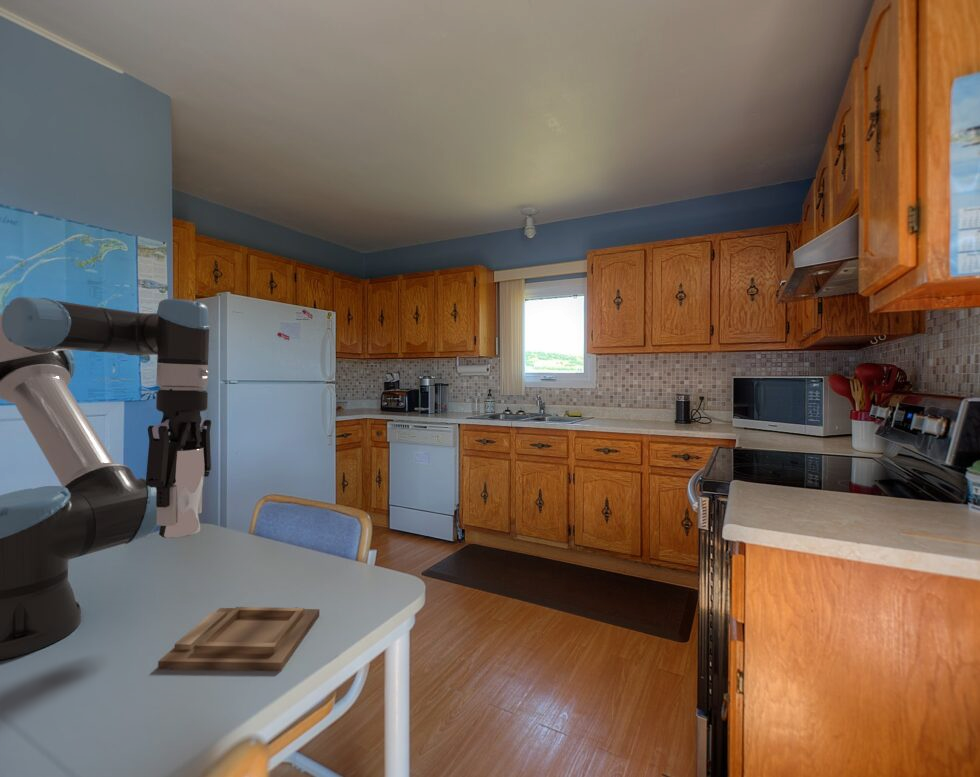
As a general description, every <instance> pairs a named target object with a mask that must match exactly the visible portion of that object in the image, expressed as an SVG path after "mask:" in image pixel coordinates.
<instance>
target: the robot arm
mask: <svg viewBox="0 0 980 777" xmlns="http://www.w3.org/2000/svg"><path fill="white" fill-rule="evenodd" d="M210 329H211V326H210V314H209V308H208V306H207V305H206V304H205V303H202V302H198V301H194V300H188V299H187V300H186V299H179V298H177V299H176V298H165V299H162V300H160V301H159V303H158V306H157V310H156V313H154V312H153V313H144V312H142V313H141V312H136V311H127V310H121V309H114V308H108V307H107V308H106V307H99V306H91V305H86V304H79V303H74V302H67V301H60V300H54V299H51V298H46V297H38V298H36V297H27V296H19V297H15V298H13V299H11V300H10V301H9V304H8V305H6V306H5V307H4V309H3V311H2V313H0V399H1V400H2V401H5V402H6V403H11V404H14V405H15V407H16V409H17V410H18V413H19V414H20V416H21V417H22V419H23V421H24V423H25V424H26V426H27V428H28V430H29V431H30V433H31V434H32V436H33V438H34V440H35V442H36V443H37V445H38V448H40V450H41V452H42V453H43V455H44V457H45V459H46V460H47V462H48V464H49V466H50V467H51V469H52V471H53V472H54V474H55V476H56V477H57V479H58V481H59V483H60V485H46V486H45V485H44V486H39V487H35V488H30V487H29V488H25V489H21V490H15V491H11V492H8V493H4V494H0V661H3V660H7V659H11V658H15V657H19V656H23V655H25V654H29V653H31V652H34V651H35V652H36V651H37V650H40V649H42V648H45V647H47V646H49V645H52V644H53V643H56V642H58V641H60V640H62V639H64V638H66V637H68V636H69V635H70V634H71V633H73V632H74V631H75V630H76V629H77V628H79V626H80V625H81V622H82V608H81V605H80V603H79V602H78V601H76V597H75V594H74V591H73V588H72V586H71V584H70V582H69V561H70V560H72V559H76V558H79V557H83V556H86V555H89V554H93V553H96V552H99V551H103V550H107V549H110V548H114V547H117V546H121V545H124V544H125V545H127V544H130V543H132V542H133V541H135V540H138V539H141V538H145V537H146V536H148V535H150V534H151V533H153V532H154V531H155V529H156V528H157V527H158V526H159V527H160V526H174V525H176V487H177V486H172V485H173V482H174V477H175V473H176V462H177V451H181V449H182V448H183V451H184V450H195V449H198V446H201V447H204V449H203V450H204V467H205V471H204V478H207V477H209V476H210V471H211V470H212V462H211V461H212V458H211V428H212V427H211V426H212V420H211V419H202V415H201V412H205V411H207V409H208V394H209V393H208V391H207V390H204V388H207V387H208V383H209V382H208V376H209V374H210V372H209V367H208V365H209V352H210V351H209V348H210V345H209V344H210ZM73 351H80V352H81V351H82V352H98V353H108V354H109V353H110V354H111V353H112V354H122V355H123V354H124V355H128V356H145V355H146V356H150V355H151V356H152V355H153V356H154V355H155V356H156V357H157V359H156V362H157V364H156V382H155V383H156V386H157V387H160V389H158V390H157V391H156V397H155V398H156V399H155V400H156V401H155V402H156V406H155V408H156V410H157V411H158V412H162V418H161V420H160V423H159V424H157V425H149V426H148V428H147V434H148V440H149V441H148V449H147V450H148V453H147V461H146V462H147V463H146V476H145V477H141V478H139V479H137V477H136V476H135V475H134V473H133V471H132V470H131V469H130V467H129V466H127V465H125V464H121V463H120V464H119V463H115V461H114V459H113V456H111V454H110V452H109V451H108V450H107V448H106V446H105V445H104V443H103V442H102V440H101V438H100V437H99V435H98V433H97V432H96V430H95V429H94V427H93V425H92V424H91V422H90V421H89V418H88V417H87V416H86V414H85V413H84V411H83V409H82V408H81V406H80V404H79V403H78V401H77V399H76V398H75V397H74V395H73V393H72V392H71V390H70V388H69V387H68V386H69V385H70V383H71V381H72V378H73V377H74V375H75V371H76V363H75V362H74V359H75V356H74V354H73V353H74V352H73ZM202 511H203V490H202V491H201V496H200V501H199V506H198V515H199V514H201V513H202Z"/></svg>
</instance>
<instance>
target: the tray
mask: <svg viewBox="0 0 980 777" xmlns="http://www.w3.org/2000/svg"><path fill="white" fill-rule="evenodd" d="M319 618H320V608H314V609H312V608H305V607H270V606H269V607H263V606H262V607H261V606H259V607H258V606H256V607H255V606H253V607H252V606H247V607H246V606H236V607H220V608H218V609H217V610H216V611H212V612H211V613H209V614H208V615H207V616H206V617H204V618H203V619H202V620H201V621H200V622H199V623H198V624H196V626H194V627H193V628H192V629H190V630H189V632H187V633H186V634H184V636H182V637H181V638H179V640H178V641H177V642H176V643H174V647H172V649H170V650H169V651H168V652H167V653H166V654H164V656H163V657H161V658H160V659H159V660H158V661H157V670H177V671H178V670H183V671H186V670H187V671H188V670H190V671H195V670H198V671H264V672H265V671H267V672H268V671H271V672H272V671H274V672H276V671H277V672H278V671H279V672H282V670H283V669H284V667H285V666H286V665H287V663H288V661H289V660H291V658H292V656H293V654H294V653H295V651H296V650H297V649H298V647H299V646H300V645H301V643H302V641H303V640H304V638H305V637H306V636H307V634H308V633H309V632H310V630H311V629H312V628H313V626H314V624H316V622H317V620H318V619H319Z"/></svg>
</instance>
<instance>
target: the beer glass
mask: <svg viewBox="0 0 980 777" xmlns="http://www.w3.org/2000/svg"><path fill="white" fill-rule="evenodd" d="M203 449H204V447H201V446H198V449H195V450H184V451H183V448H182V449H181V451H177V462H176V473H175V477H174V482H173V485H172V486H177V487H176V525H174V526H159V531H158V536H159V537H161V538H164V539H177V538H178V539H179V538H183V537H189V536H192V535H195V534H197V533H199V532H200V531H201V523H200V519H199V514H198V506H199V501H200V496H201V491H202V492H203V486H204V479H205V477H204V471H205V467H204V465H205V464H204V450H203Z"/></svg>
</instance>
